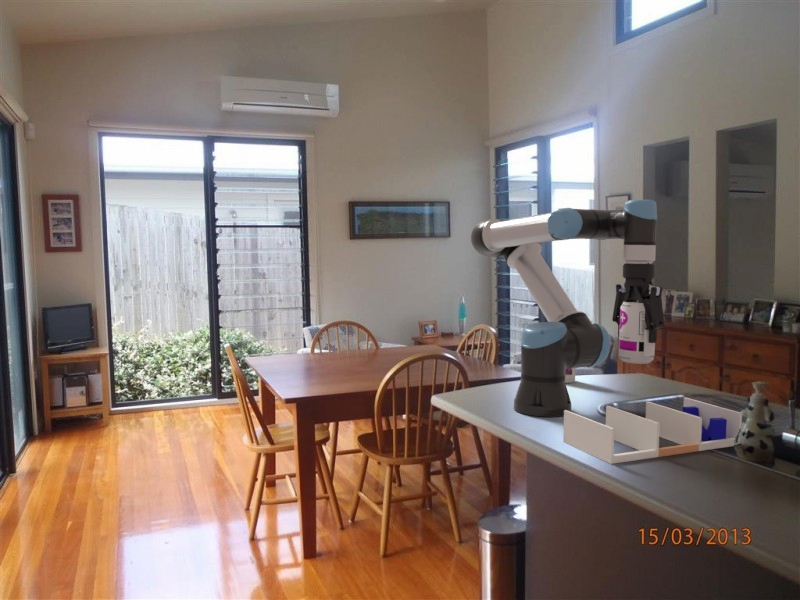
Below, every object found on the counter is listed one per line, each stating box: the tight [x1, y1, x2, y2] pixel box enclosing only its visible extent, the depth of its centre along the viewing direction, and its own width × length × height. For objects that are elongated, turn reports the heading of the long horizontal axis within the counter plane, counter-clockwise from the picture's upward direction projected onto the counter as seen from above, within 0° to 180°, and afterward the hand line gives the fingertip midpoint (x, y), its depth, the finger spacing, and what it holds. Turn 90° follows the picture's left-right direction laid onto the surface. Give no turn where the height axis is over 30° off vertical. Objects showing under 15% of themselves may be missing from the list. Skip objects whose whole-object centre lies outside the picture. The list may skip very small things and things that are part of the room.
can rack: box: [562, 397, 743, 465], centre depth 142 cm, size 35×16×7 cm, turn 111°
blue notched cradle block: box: [682, 406, 727, 442], centre depth 147 cm, size 12×4×6 cm, turn 8°
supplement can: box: [618, 300, 655, 365], centre depth 160 cm, size 8×8×15 cm
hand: (636, 352), depth 160 cm, fingers closed on supplement can, 8 cm apart
